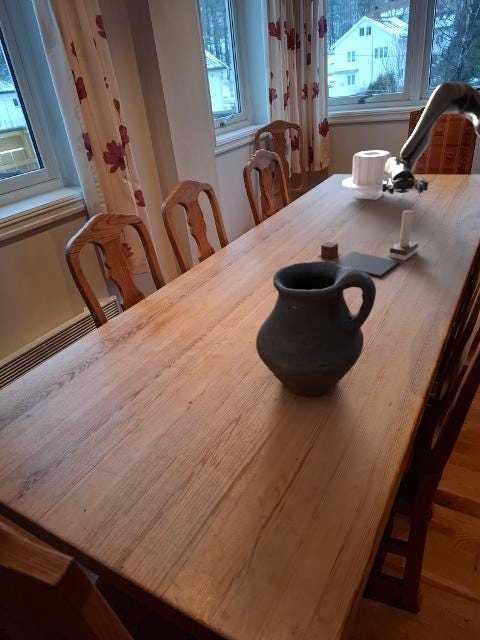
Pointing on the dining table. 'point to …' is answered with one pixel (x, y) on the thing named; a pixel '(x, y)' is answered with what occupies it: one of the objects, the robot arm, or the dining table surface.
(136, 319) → the dining table surface
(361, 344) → the pitcher
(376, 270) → the mat
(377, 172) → the flanged gear
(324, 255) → the brown cube
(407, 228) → the tall white pillar
